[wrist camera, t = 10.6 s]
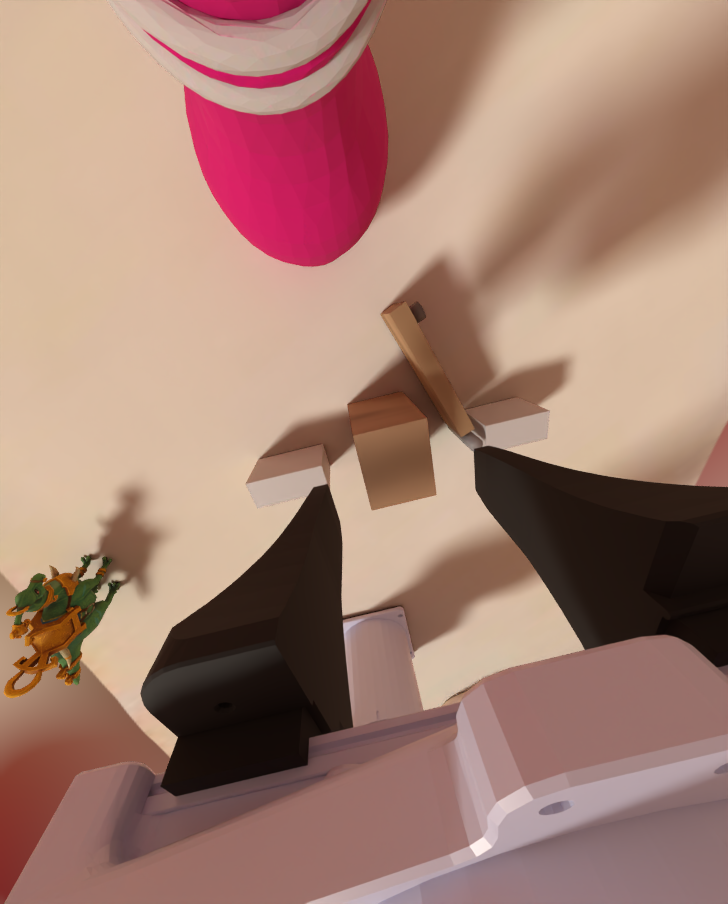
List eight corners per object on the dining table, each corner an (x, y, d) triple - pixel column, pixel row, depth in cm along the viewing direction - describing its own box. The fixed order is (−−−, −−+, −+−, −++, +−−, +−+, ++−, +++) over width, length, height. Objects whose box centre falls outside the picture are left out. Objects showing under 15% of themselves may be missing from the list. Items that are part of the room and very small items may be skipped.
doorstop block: (411, 452, 22) (436, 494, 17) (362, 464, 22) (371, 510, 17) (401, 391, 20) (427, 418, 15) (347, 404, 20) (352, 435, 15)
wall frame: (516, 421, 22) (550, 440, 19) (268, 481, 22) (256, 511, 19) (517, 396, 21) (553, 412, 18) (258, 459, 21) (244, 486, 18)
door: (443, 421, 21) (461, 437, 18) (380, 314, 18) (389, 313, 15) (464, 407, 21) (485, 421, 18) (404, 295, 17) (418, 291, 14)
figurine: (111, 530, 23) (5, 633, 15) (135, 626, 27) (63, 739, 20) (67, 527, 22) (-65, 632, 15) (99, 626, 27) (11, 741, 20)
